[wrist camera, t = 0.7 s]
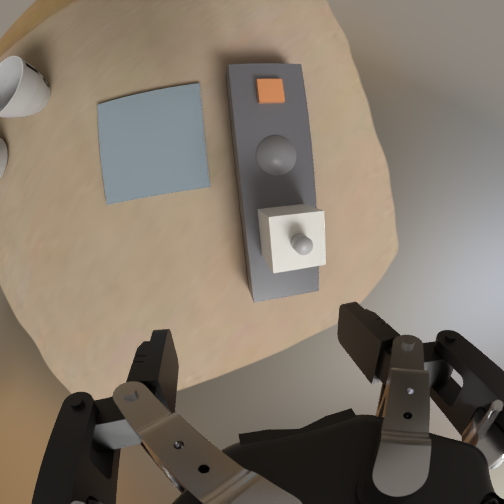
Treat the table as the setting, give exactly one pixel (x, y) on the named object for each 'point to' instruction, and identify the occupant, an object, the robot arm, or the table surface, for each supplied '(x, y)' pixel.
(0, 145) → the can
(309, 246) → the block
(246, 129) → the power strip
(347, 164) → the table surface
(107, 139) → the mat
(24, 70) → the cup
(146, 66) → the table surface
